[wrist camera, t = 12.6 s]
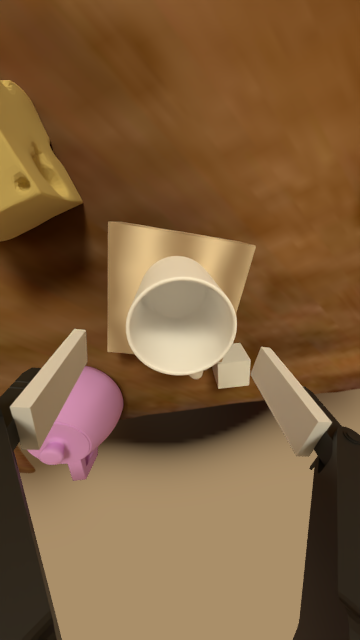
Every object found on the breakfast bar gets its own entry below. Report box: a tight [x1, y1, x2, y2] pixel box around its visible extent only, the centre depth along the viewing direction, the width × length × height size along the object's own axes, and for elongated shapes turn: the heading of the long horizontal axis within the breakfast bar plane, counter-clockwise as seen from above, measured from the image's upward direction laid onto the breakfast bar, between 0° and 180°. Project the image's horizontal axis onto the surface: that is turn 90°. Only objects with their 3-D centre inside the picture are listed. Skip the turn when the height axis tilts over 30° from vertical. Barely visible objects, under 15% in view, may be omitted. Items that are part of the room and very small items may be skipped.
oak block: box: [108, 222, 256, 362], centre depth 28 cm, size 16×16×6 cm
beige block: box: [212, 343, 251, 389], centre depth 34 cm, size 5×5×5 cm
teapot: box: [28, 366, 123, 481], centre depth 33 cm, size 22×16×12 cm
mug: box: [126, 256, 237, 379], centre depth 21 cm, size 12×8×10 cm
